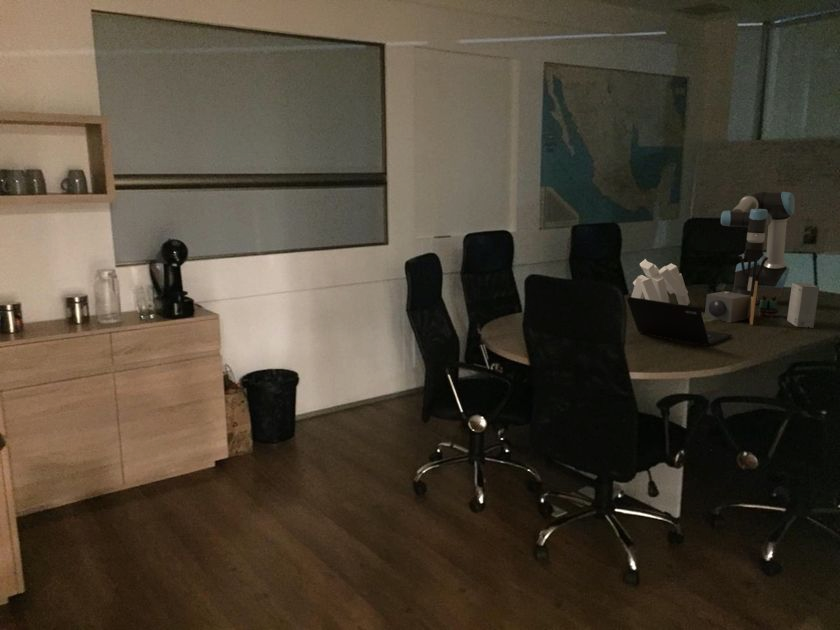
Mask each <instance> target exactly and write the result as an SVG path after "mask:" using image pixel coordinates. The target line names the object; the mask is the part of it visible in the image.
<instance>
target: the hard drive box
mask: <svg viewBox="0 0 840 630" xmlns="http://www.w3.org/2000/svg"><path fill="white" fill-rule="evenodd" d="M819 292H820V287H819V286H816V285H815V284H811V283H809V282H796V281H794V282H792V283H791V288H790V296H789V303H788V311H787V320H786V321H787V322H789V323H790V324H792V325H793V326H794V327H796V328H808V327H809V329H813V328H815V319H816V318H815V317H816V314H817V306H818V298H819Z"/></svg>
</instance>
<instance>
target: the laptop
mask: <svg viewBox="0 0 840 630" xmlns="http://www.w3.org/2000/svg"><path fill="white" fill-rule="evenodd" d="M626 300H627V303H628V307H629V309H630V312H631V316H632V318H633V321H634V323H635V326H636V329H637V332H639V333H640V334H643V333H644V335H649V334H650V336H654V335H655V337H659V336H661V337H660V338H664V337H666V338H665V339H669V338H672V339H671V340H675V339H677V340H676V341H681V340H682V341H681V342H686V341H687V343H691V342H692V343H693V344H697V343H698V344H699V345H702V344H703V345H704V346H711V345H714V344H716V343H719V342H721V341H724V340H727V339H729V338H731V337H732V336H733V335H732V333H731V334H730V333H726V332H725V333H724V332H719V331H712V330H707V329H706V327H705V321H704V318H703V314H702V311H701V307H699V306H693V305H689V304H688V305H681V304H678V303H673V302H670V303H667V302H660V301H654V300H647V299H645V298H644V299H640V298H633V297H631V296H628V297H627V299H626ZM703 345H702V346H703Z"/></svg>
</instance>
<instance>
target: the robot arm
mask: <svg viewBox="0 0 840 630" xmlns="http://www.w3.org/2000/svg"><path fill="white" fill-rule="evenodd" d="M795 203H796V200H795V196H794V194H793V193H792V192H787V191H765V190H763V191H761V190H760V191H756V192H752V193H749V194H747V195H745V196H743V198H741V199H740V200H739V203H738V204H737V205H736V206H735V207H734V208H733V209H732V210H723V211H722V213H721V216H720V224H721V225H722V226H725V227H742V228H747V233H746V243H745V250H744V251H743V253H742V254H739V255H738V259H739V260H740V262H739V263H738V264H736V267H735V271H734V272H735V273H734V275H735V276H734V283H733V289H732V291H731V293H738V294H744V295H750V302H751V297H753V294H754V286H755V281H758V285H757V287H758V286H759V287H768V288H780V289H782V288H784V287H785V285H786V284H787V281H788V276H789V274H790V267H788V266H787V263H786V262H785V261H784V259H785V247H786V234H787V221H788V220H789V219H790V218H791V216H792V215H794V214H795V208H796V204H795ZM766 229H767V241H766V255H764V254H765V253H764V246H765V245H764V242H765V237H766ZM745 258H746V259H747V262H745V261H744V259H745ZM760 260H761V262H759V261H760ZM758 304H759V296H758V292H757V293H756V301H755V305H758ZM749 306H750V304H749Z"/></svg>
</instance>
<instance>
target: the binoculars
mask: <svg viewBox="0 0 840 630" xmlns="http://www.w3.org/2000/svg"><path fill="white" fill-rule="evenodd" d="M767 298H768V297H767V296H765V295H762V299H760V300H759V306H758V311H759V313H758V315H759V316H760V318H767V317H768V316H769V318H770V317H773V318H772V319H775V318H777V314H778V313H779V311H780V310H779V309H778V300H776V299H777V296H772V297H771V299H767Z"/></svg>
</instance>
